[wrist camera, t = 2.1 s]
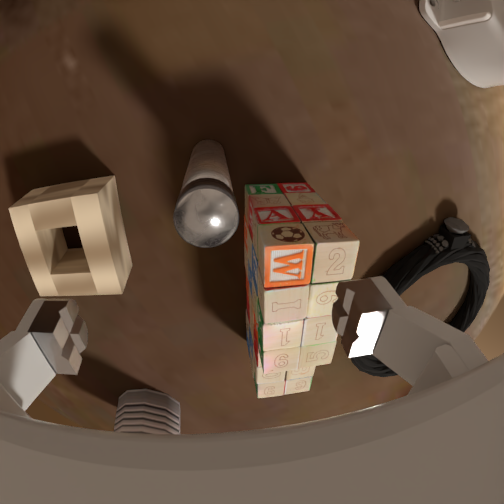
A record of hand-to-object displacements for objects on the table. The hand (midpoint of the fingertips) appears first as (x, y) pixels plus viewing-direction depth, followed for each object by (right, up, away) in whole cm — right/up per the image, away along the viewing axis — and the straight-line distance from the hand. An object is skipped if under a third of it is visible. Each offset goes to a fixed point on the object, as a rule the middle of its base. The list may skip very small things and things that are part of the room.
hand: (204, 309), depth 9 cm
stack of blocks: (+4, -1, +25) cm, 25 cm away
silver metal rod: (-3, +10, +17) cm, 20 cm away
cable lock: (+28, -6, +32) cm, 43 cm away
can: (-16, -25, +36) cm, 47 cm away
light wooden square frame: (-16, +4, +19) cm, 25 cm away
